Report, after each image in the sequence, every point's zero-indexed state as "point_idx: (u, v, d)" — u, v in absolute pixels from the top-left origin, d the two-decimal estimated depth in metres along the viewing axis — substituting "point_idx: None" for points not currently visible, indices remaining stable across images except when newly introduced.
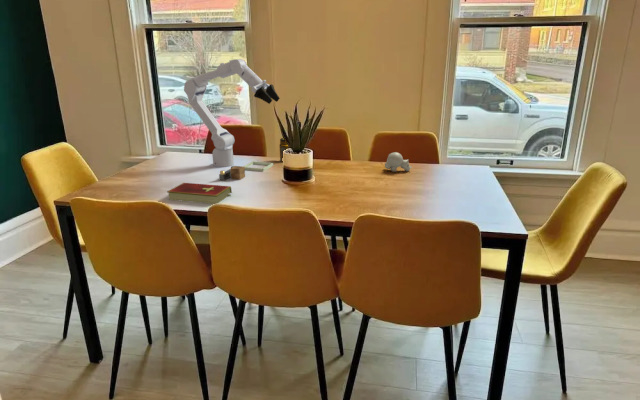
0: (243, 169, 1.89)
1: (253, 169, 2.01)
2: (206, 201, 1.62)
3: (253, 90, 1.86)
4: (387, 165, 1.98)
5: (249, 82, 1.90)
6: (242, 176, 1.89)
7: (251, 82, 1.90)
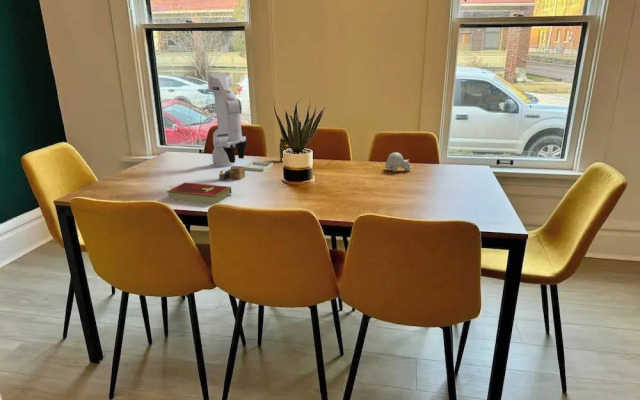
0: (243, 169, 1.89)
1: (253, 169, 2.01)
2: (205, 201, 1.62)
3: (226, 145, 1.79)
4: (387, 165, 1.98)
5: (229, 131, 1.81)
6: (242, 176, 1.89)
7: (231, 133, 1.81)
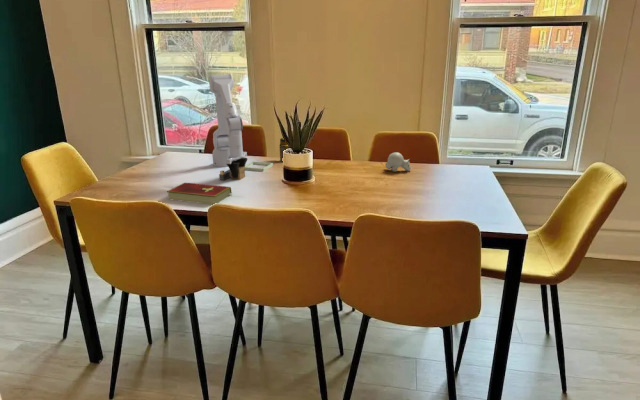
0: (243, 169, 1.89)
1: (253, 169, 2.01)
2: (205, 201, 1.62)
3: (227, 161, 1.81)
4: (388, 165, 1.98)
5: (230, 147, 1.83)
6: (242, 176, 1.89)
7: (232, 149, 1.83)
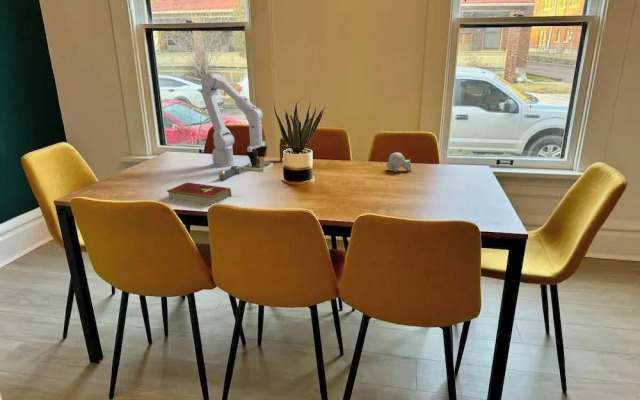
0: (263, 159, 2.05)
1: (253, 169, 2.01)
2: (203, 202, 1.61)
3: (248, 149, 1.97)
4: (389, 165, 1.98)
5: (251, 136, 1.99)
6: (262, 165, 2.05)
7: (253, 138, 1.99)
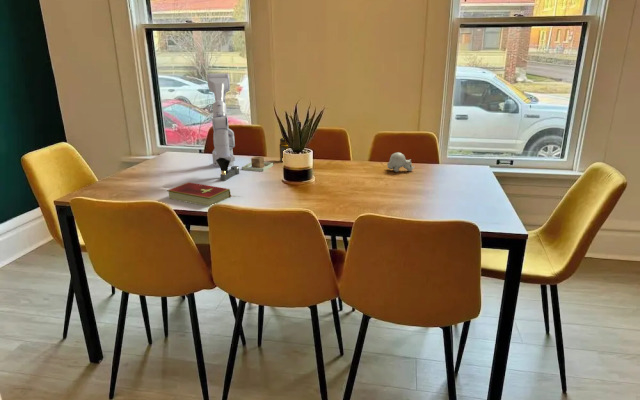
0: (263, 159, 2.05)
1: (253, 169, 2.01)
2: (200, 203, 1.61)
3: None
4: (390, 165, 1.97)
5: None
6: (262, 165, 2.05)
7: None
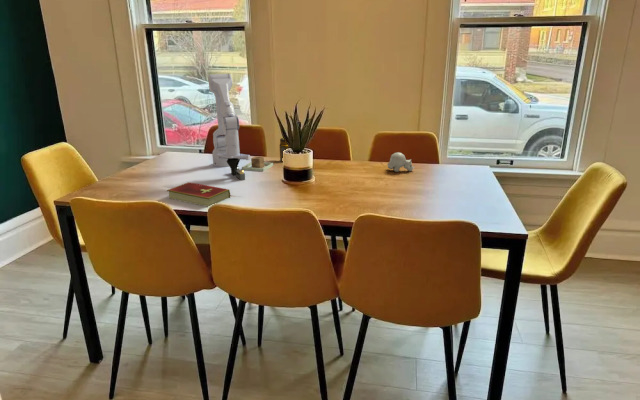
0: (263, 159, 2.05)
1: (253, 169, 2.01)
2: (200, 203, 1.61)
3: None
4: (390, 165, 1.97)
5: None
6: (262, 165, 2.05)
7: None
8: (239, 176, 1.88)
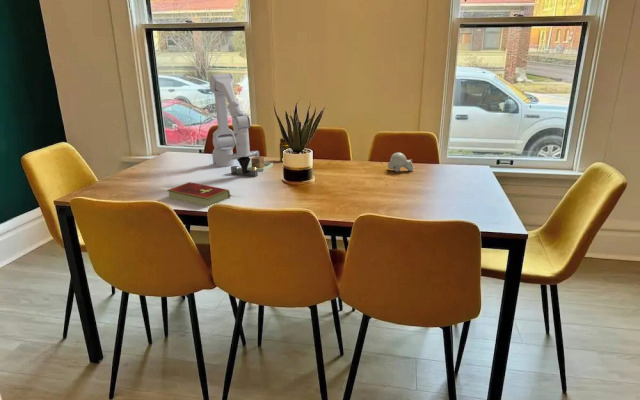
0: (263, 159, 2.05)
1: None
2: (199, 203, 1.60)
3: (228, 158, 1.85)
4: (390, 165, 1.97)
5: (236, 145, 1.87)
6: (262, 165, 2.05)
7: (236, 147, 1.86)
8: (252, 173, 1.91)
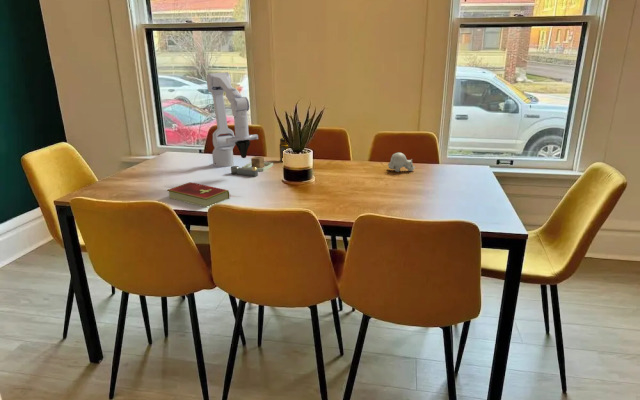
0: (263, 159, 2.05)
1: None
2: (198, 203, 1.60)
3: (226, 141, 1.83)
4: (391, 165, 1.97)
5: None
6: (262, 165, 2.05)
7: (235, 130, 1.84)
8: (252, 173, 1.92)
